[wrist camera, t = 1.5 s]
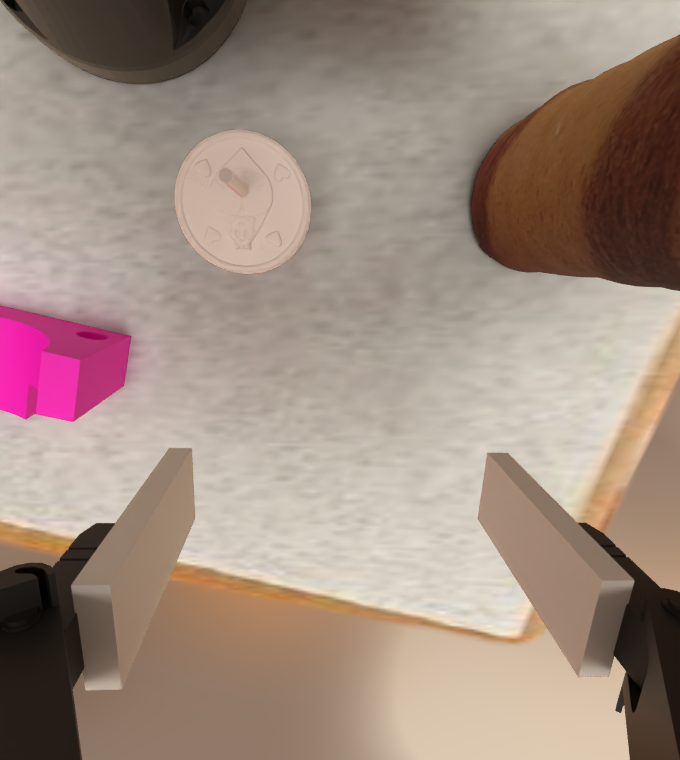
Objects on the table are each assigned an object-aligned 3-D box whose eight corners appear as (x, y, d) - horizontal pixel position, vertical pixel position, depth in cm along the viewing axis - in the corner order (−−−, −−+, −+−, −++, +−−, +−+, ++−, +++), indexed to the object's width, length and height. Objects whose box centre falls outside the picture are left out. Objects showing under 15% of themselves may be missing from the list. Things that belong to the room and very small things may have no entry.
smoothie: (312, 171, 29) (315, 100, 16) (309, 271, 31) (310, 283, 18) (213, 164, 29) (130, 86, 15) (216, 266, 31) (143, 276, 17)
